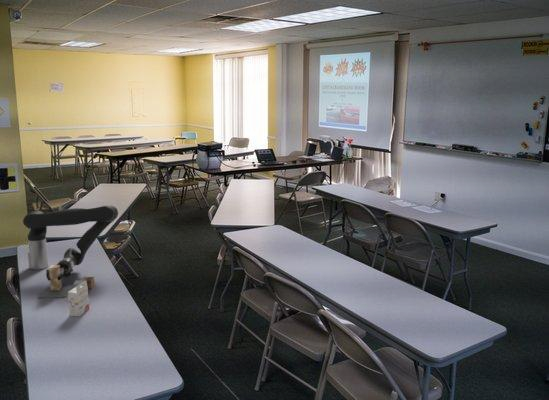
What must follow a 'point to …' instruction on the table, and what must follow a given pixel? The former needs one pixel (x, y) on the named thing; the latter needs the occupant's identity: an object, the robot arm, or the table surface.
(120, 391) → the table surface
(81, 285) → the grey block
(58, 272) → the maple block
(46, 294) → the slate mat
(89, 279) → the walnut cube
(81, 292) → the ink cartridge box
